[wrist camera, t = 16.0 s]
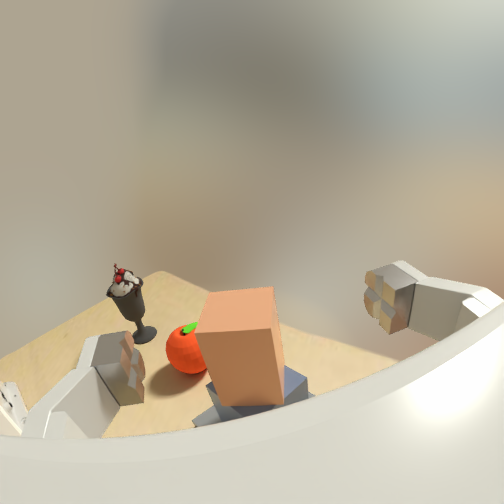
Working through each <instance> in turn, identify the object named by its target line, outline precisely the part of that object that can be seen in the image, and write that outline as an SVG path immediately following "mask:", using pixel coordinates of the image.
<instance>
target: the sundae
mask: <svg viewBox="0 0 504 504" xmlns="http://www.w3.org/2000/svg"><path fill="white" fill-rule="evenodd" d="M114 267H115V268H117V267H116V264H115V265H114ZM117 269H118V268H117ZM142 285H143V281H142V279H141V278H139V277H134V276H133V272H132V271H129V270H125V269H122V268H121V269H118V272H116V270H115V275H114V278H113V284H112V285H111V286H110V287H109V289H108V291H107V294H106V295H107V296H108V297H111V298H112V299H113V300H114V302H115V303H116V305H117V307H118V308H119V310H120V312H121V313H122V315H123V316H124V317H125V319H127V320H129V321H133V322H135V323H136V326H137V329H138V330H137V331H135V332H134V333H133V335H132V337H133V339H134V343H137V344H143V343H146V342H149V341H150V340H152V339H153V338H154V337H155V336H156V334H157V330H156V329H155V328H154V327H151V326H146V327H144V325H143V323H142V321H141V318H142V317H143V316H144V313H145V306H144V302H143V298H142V294H141V286H142Z"/></svg>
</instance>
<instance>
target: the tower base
mask: <svg viewBox="0 0 504 504" xmlns="http://www.w3.org/2000/svg"><path fill="white" fill-rule="evenodd" d="M206 388H207V390H208V392H209V395H210V397H211V399H212V402H213V404H214V405H213V406H212V407H211V408H209V409H208V410H206V411H205V412H203V413H202V414H200V415H199V416H198V417H196V418H195V419H193V420H192V422H193V423H194V425H195V427H201V426H207V425H212V424H217V423H221V422H226V421H230V420H235V419H239V418H243V417H247V416H251V415H255V414H259V413H263V412H266V411H270V410H273V409H277V408H280V407H284V406H287V405H290V404H293V403H297V402H300V401H303V400H306V399H309V398H312V397H315V395H313V394H311V393H310V392H308V383H307V377H305V376H303V375H301V374H299V373H298V372H296V371H294V370H292V369H290V368H289V367H287V366H285V365H284V404H282V405H262V406H222V405H221V402H220V400H219V397H218V395H217V392H216V390H215V387H214V385H213V382H210V383H209V384H207V385H206Z"/></svg>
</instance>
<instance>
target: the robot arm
mask: <svg viewBox="0 0 504 504" xmlns="http://www.w3.org/2000/svg"><path fill="white" fill-rule="evenodd" d="M365 283H366V285H367V286H368V288H367V290H366V291H365V293H364V303H365V307H366V309H367V311H368V313H369V314H370V315H371V316H372V317H373V318H376V319H379V325H380V326H381V327H382V328H383V329H384V330H385V331H386V332H387V333H388V334H389V335H390V334H393V333H395V332H397V331H400V330H403V329H405V328H407V327H408V328H409V329H411V330H414V331H416V332H418V333H421V334H423V335H426V336H428V337H430V338H433V339H435V340H438V341H439V342H438V343H436V344H434V345H432V346H430V347H428V348H427V349H425V350H423V351H421V352H419V353H417V354H415V355H413V356H411V357H409V358H407V359H405V360H403V361H401V362H399V363H396V364H394V365H392V366H390V367H388V368H386V369H383V370H381V371H379V372H377V373H374V374H372V375H370V376H367V377H365V378H362V379H360V380H357V381H355V382H352V383H350V384H347V385H345V386H342V387H340V388H337V389H334V390H332V391H329V392H326V393H323V394H321V395H318V396H315V397H312V398H309V399H306V400H303V401H300V402H297V403H293V404H290V405H287V406H284V407H280V408H277V409H273V410H270V411H266V412H263V413H259V414H255V415H251V416H247V417H243V418H239V419H235V420H230V421H226V422H221V423H217V424H212V425H207V426H201V427H196V428H190V429H184V430H178V431H171V432H164V433H156V434H148V435H139V436H128V437H114V438H101V437H102V435H103V434H104V432H105V431H106V429H107V428H108V426H109V424H110V423H111V421H112V420H113V418H114V417H115V415H116V414H117V412H118V411H119V409H120V406H126V405H133V404H139V403H144V386H143V384H142V381H143V380H144V378H145V367H144V362H143V359H142V356H141V354H140V352H139V350H137V349H135V348H134V339H133V337H132V335H131V333H130V332H129V331H122V332H116V333H110V334H103V335H97V336H92V337H88V338H86V340H85V343H84V346H83V349H82V352H81V355H80V358H79V361H78V364H77V367H76V369H72V370H71V371H70V372H69V373H68V374H67V375H66V376H65V377H63V378H62V379H61V380H60V381H59V382H58V383H57V384H56V385H55V386H54V387H53V388H52V389H51V390H50V391H49V392H48V393H47V394H46V395H45V396H44V397H42V398H41V399H40V400H39V401H38V402H37V403H36V404H35V405H34V406H33V407H32V408H31V409H30V410H29V412H28V410H27V408H26V406H25V403H24V401H23V398H22V396H21V394H20V391H19V388H18V386H17V385H16V384H15V382H5V383H2V382H1V381H0V504H504V300H503V299H501V298H500V297H499V296H497V295H496V294H494V293H493V292H491V291H490V290H488V289H487V288H485V287H480V286H475V285H470V284H465V283H460V282H455V281H451V280H445V279H440V278H436V277H430V278H428V277H427V276H425V275H424V274H423V273H421V272H420V271H418V270H417V269H415V268H414V267H412V266H411V265H409V264H408V263H406V262H405V261H401V260H400V261H397V262H394V263H391V264H389V265H386V266H383V267H380V268H377V269H374V270H371V271H368V272H367V273H366V276H365Z"/></svg>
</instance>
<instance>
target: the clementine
mask: <svg viewBox="0 0 504 504" xmlns="http://www.w3.org/2000/svg"><path fill="white" fill-rule="evenodd" d="M197 324H198V322H195V323H191V324H189V325H185V326H181V327H179V328H177V329H176V330H174V331H173V332H172V333H171V334H170V336H169V338H168V340H167V342H166V354H167V357H168V360H169V361H170V363H171V364H172V365H173V366H174V367H175V368H176V369H178V370H179V371H181V372H185V373H189V374H194V373H199V372H201V371H203V370H205V369H206V368H207V367H206V364H205V362H204V359H203V356H202V354H201V351H200V348H199V345H198V343H197V340H196V337H195V334H194V332H195V329H196V326H197Z"/></svg>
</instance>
